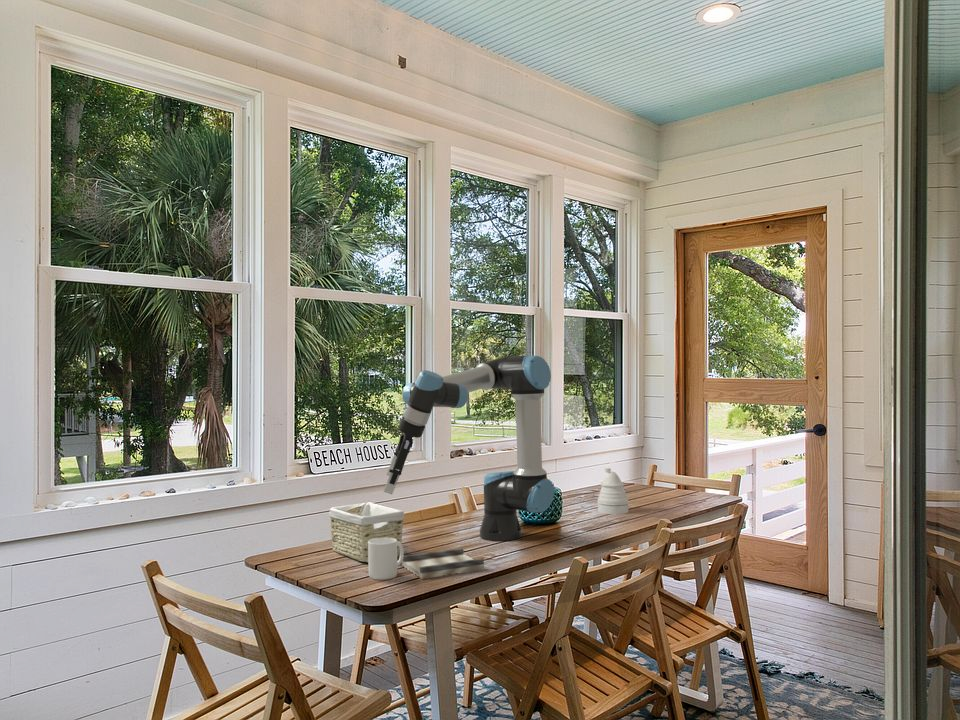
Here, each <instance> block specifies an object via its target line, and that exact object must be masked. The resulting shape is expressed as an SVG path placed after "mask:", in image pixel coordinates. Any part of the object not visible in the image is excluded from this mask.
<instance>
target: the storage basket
mask: <svg viewBox="0 0 960 720" xmlns="http://www.w3.org/2000/svg"><path fill="white" fill-rule="evenodd" d="M328 516H329V518H330V528H331V529H330V533H331V546H332V551H333V552H335V553H338V554H340V555H342V556H345V557H349V558H350V559H354V560H357V561H359V562H365V563H368V541H369V540H371V539H375V538H394V539H397V542H401V544H402V543H403V542H402V540H403V538H402V537H403V527H404V521H405V512H404V511H403V510H400V509H396V508H394V507H388V506H384V505H380V504H376V503H375V502H374V503H373V502H370V501H368V502H363V503H361V502H360V503H354V504H347V505H340V506H333V507H330V509H329V513H328ZM402 545H403V544H402ZM397 557H400V548H399V546H397Z"/></svg>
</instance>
